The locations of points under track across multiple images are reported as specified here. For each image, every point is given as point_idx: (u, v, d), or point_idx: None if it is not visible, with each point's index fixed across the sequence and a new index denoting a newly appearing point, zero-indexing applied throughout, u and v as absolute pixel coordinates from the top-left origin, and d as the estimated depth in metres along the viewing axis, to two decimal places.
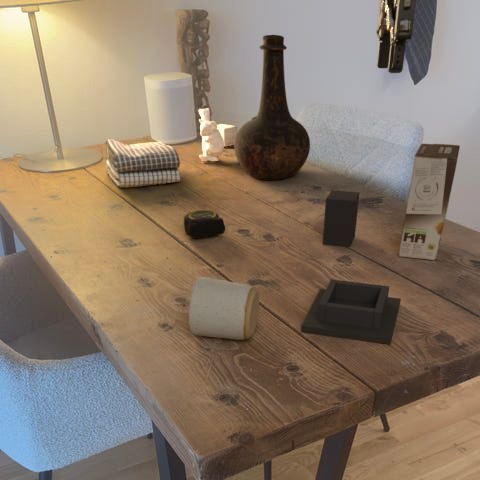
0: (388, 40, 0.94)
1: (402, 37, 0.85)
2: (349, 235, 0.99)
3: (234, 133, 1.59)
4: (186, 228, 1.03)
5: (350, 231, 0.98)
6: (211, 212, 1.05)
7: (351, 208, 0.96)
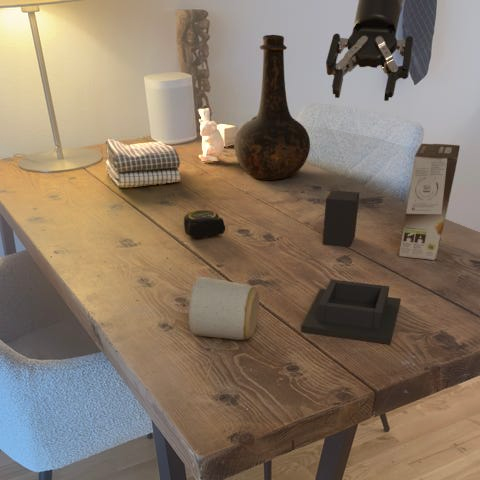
0: None
1: None
2: (349, 235, 0.99)
3: (234, 133, 1.59)
4: (186, 228, 1.03)
5: (350, 231, 0.98)
6: (211, 212, 1.05)
7: (351, 208, 0.96)
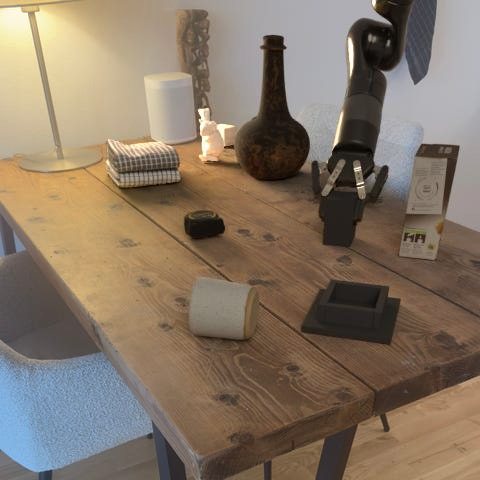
0: None
1: (313, 193, 1.01)
2: (349, 235, 0.99)
3: (234, 133, 1.59)
4: (186, 228, 1.03)
5: (350, 231, 0.98)
6: (211, 212, 1.05)
7: (350, 208, 0.96)
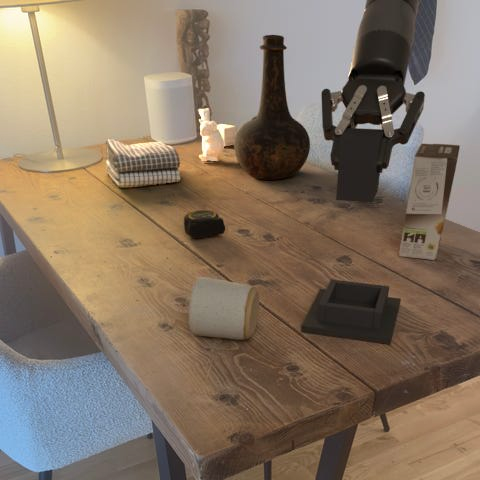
0: None
1: None
2: (372, 186, 0.75)
3: (234, 133, 1.59)
4: (186, 228, 1.03)
5: (373, 181, 0.74)
6: (211, 212, 1.05)
7: (374, 148, 0.72)
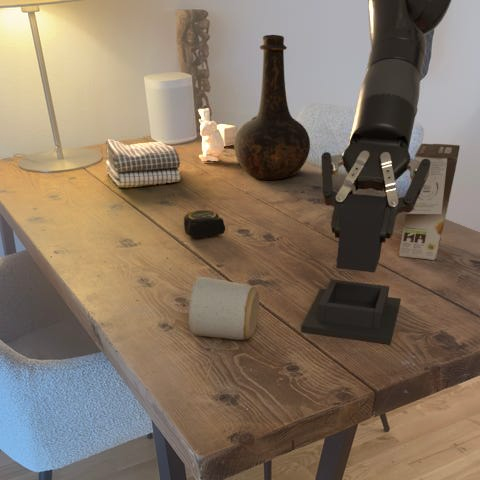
0: None
1: None
2: (374, 256, 0.71)
3: (234, 133, 1.59)
4: (186, 228, 1.03)
5: (375, 251, 0.71)
6: (211, 212, 1.05)
7: (377, 219, 0.68)
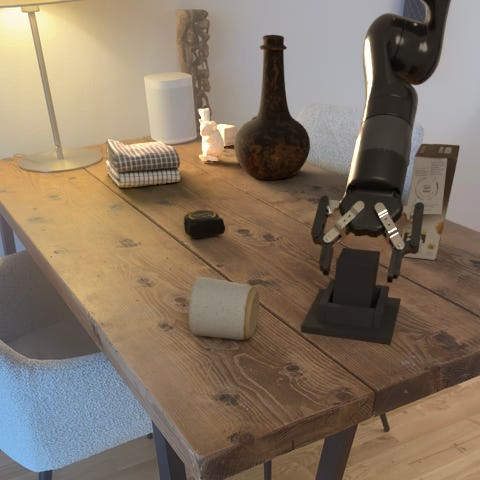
0: None
1: (312, 238, 0.77)
2: (367, 307, 0.75)
3: (234, 133, 1.59)
4: (186, 228, 1.03)
5: (368, 303, 0.75)
6: (211, 212, 1.05)
7: (369, 274, 0.73)
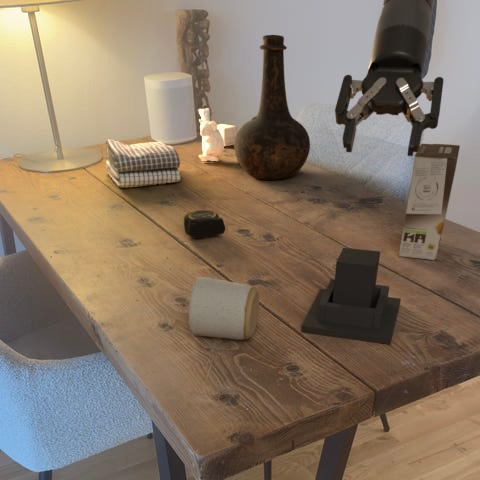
0: None
1: None
2: (367, 307, 0.75)
3: (234, 133, 1.59)
4: (186, 228, 1.03)
5: (368, 303, 0.75)
6: (211, 212, 1.05)
7: (369, 274, 0.73)
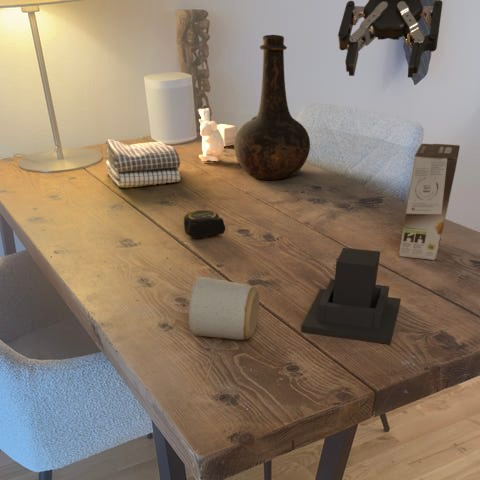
0: None
1: None
2: (367, 307, 0.75)
3: (234, 133, 1.59)
4: (186, 228, 1.03)
5: (368, 303, 0.75)
6: (211, 212, 1.05)
7: (369, 274, 0.73)
